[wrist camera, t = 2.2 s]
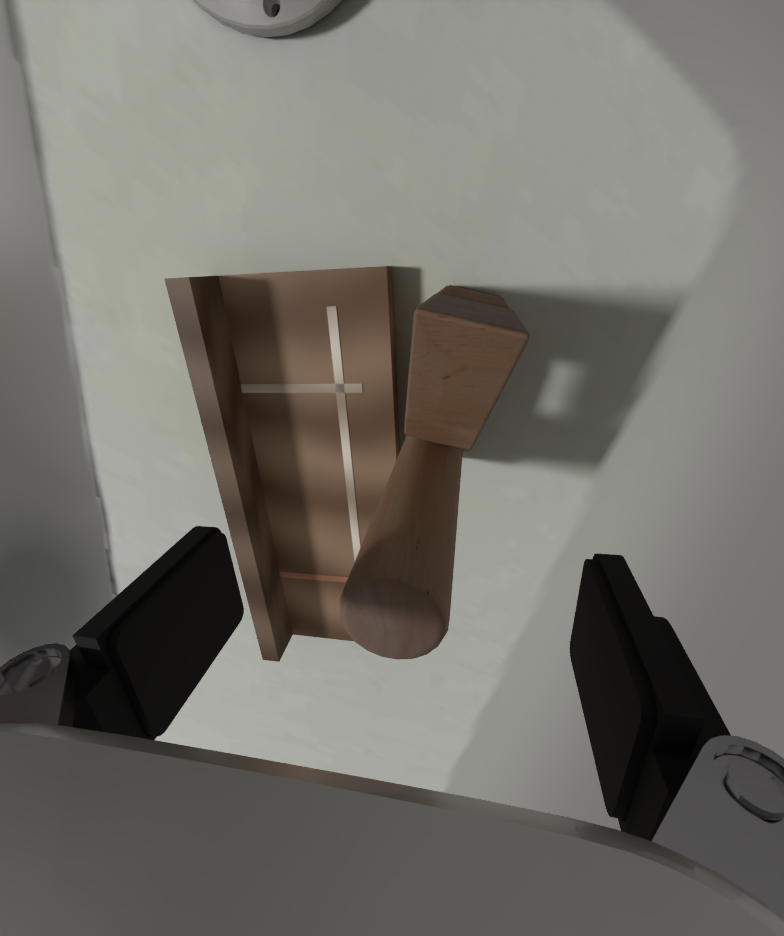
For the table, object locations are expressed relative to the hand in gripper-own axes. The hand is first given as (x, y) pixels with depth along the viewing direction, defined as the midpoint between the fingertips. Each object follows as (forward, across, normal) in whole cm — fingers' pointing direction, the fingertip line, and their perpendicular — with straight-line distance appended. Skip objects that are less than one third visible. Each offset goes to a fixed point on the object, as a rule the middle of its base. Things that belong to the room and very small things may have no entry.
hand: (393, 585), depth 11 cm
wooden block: (+19, 0, -1) cm, 19 cm away
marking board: (+19, +9, +7) cm, 22 cm away
